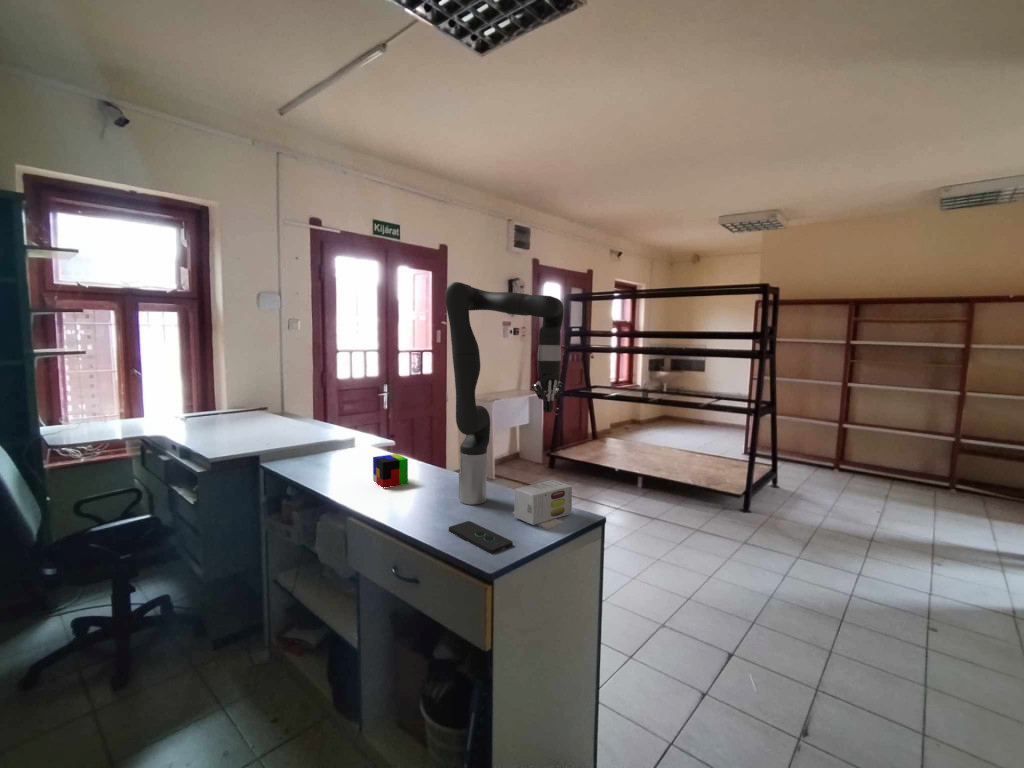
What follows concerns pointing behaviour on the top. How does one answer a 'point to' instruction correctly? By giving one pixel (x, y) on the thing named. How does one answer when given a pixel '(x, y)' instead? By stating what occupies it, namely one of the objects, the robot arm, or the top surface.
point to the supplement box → (543, 501)
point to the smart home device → (480, 537)
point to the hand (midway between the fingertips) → (547, 412)
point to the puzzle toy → (390, 470)
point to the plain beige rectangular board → (549, 523)
